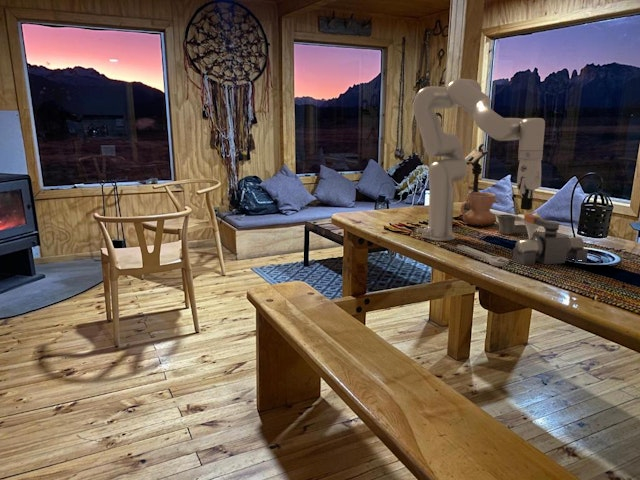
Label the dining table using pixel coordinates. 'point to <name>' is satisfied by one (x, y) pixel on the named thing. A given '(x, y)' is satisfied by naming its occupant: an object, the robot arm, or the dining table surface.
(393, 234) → the dining table surface
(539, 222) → the lever
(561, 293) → the dining table surface
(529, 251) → the valve body
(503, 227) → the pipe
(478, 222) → the ceramic jug
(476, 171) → the bird statue
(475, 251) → the adjustable wrench
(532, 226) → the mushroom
